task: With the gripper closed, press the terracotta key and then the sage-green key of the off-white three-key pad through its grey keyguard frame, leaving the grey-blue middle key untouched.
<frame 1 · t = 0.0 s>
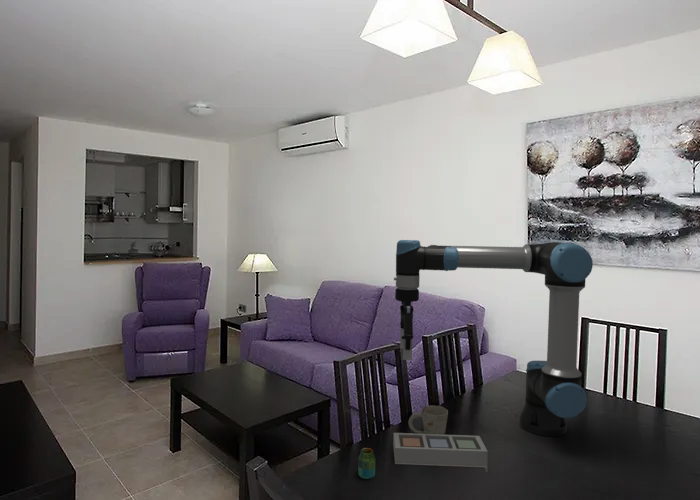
hand: (405, 353, 151), 28 cm above the table, fingers open, 13 cm apart
mug: (427, 440, 152), on the table
key a: (466, 448, 137), point 4 cm above the table, slide at 0.0 cm
jar: (366, 480, 127), on the table
key c: (411, 446, 138), point 4 cm above the table, slide at 0.0 cm
key b: (438, 447, 138), point 4 cm above the table, slide at 0.0 cm
three-slot tray: (438, 461, 138), on the table
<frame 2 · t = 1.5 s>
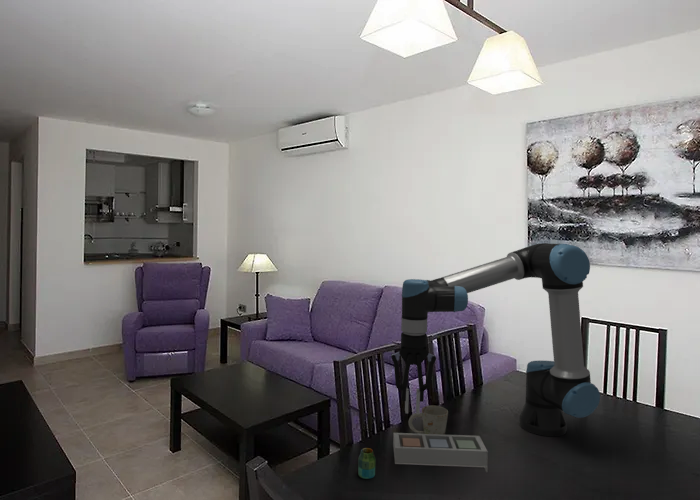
hand: (412, 411, 137), 15 cm above the table, fingers open, 3 cm apart
nothing on the table moved.
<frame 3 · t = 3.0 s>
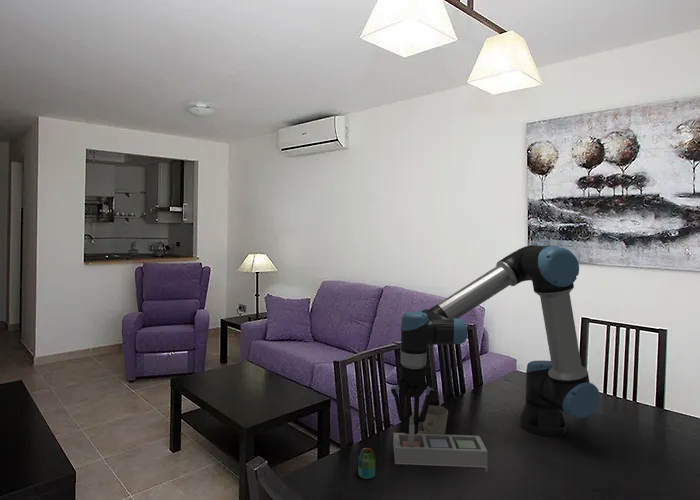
hand: (410, 444, 138), 5 cm above the table, fingers closed
key c: (411, 449, 138), point 3 cm above the table, slide at -0.9 cm, touching gripper
everything else where it was.
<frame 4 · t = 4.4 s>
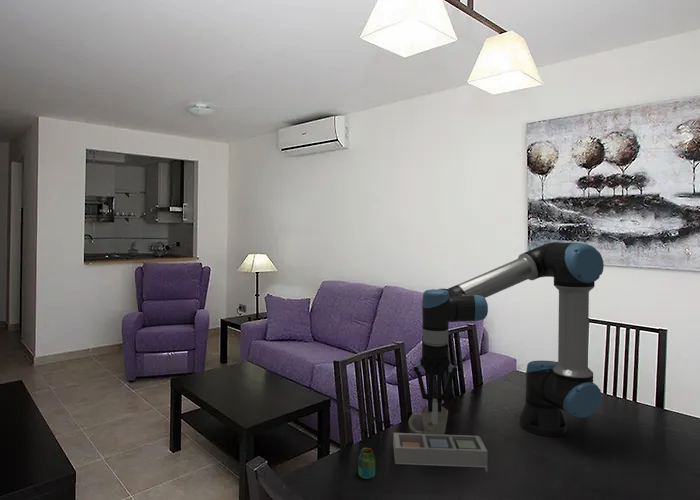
hand: (434, 422, 138), 12 cm above the table, fingers closed
key c: (411, 449, 138), point 3 cm above the table, slide at -1.2 cm
everything else where it was.
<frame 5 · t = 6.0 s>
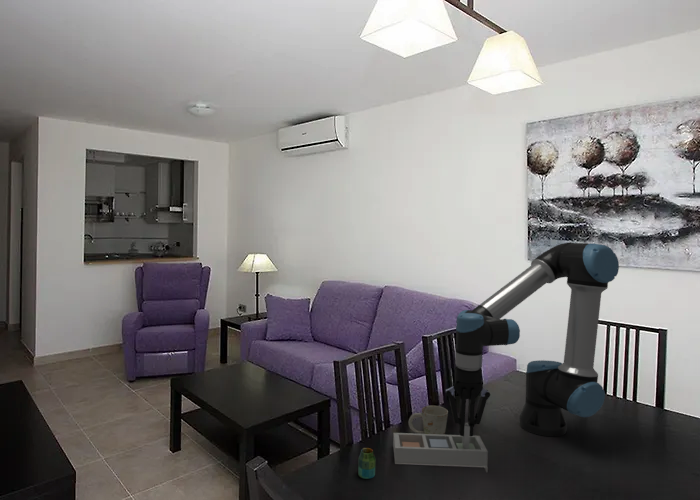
hand: (465, 446, 137), 5 cm above the table, fingers closed
key a: (465, 451, 137), point 3 cm above the table, slide at -0.9 cm, touching gripper
everything else where it was.
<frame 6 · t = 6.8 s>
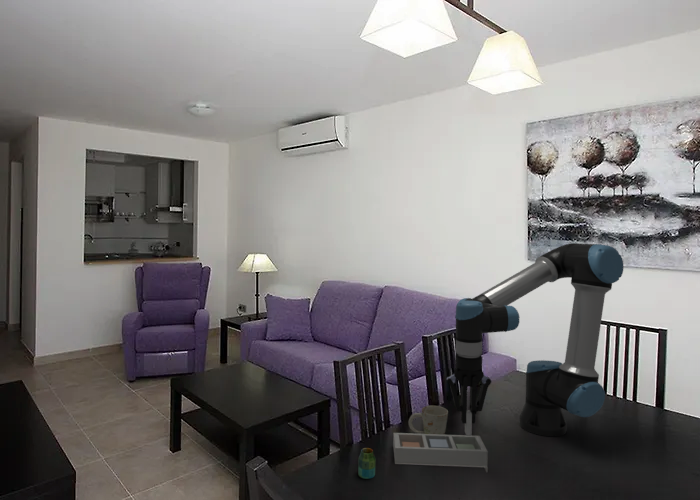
hand: (468, 433, 137), 8 cm above the table, fingers closed
key a: (465, 452, 137), point 3 cm above the table, slide at -1.2 cm
everything else where it was.
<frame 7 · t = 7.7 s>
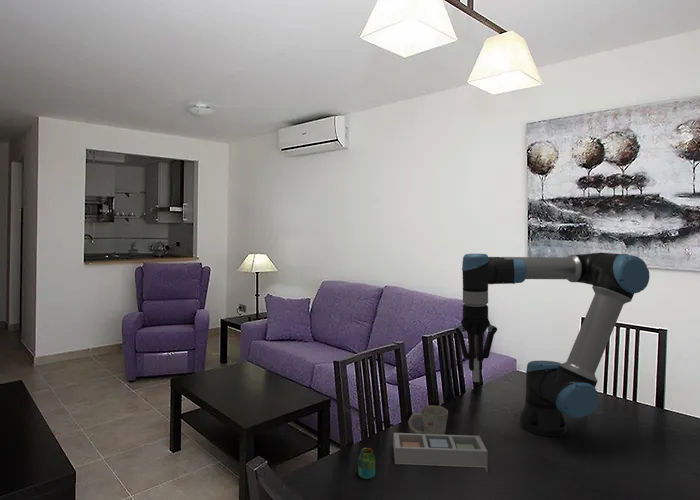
hand: (475, 380, 144), 22 cm above the table, fingers closed
nothing on the table moved.
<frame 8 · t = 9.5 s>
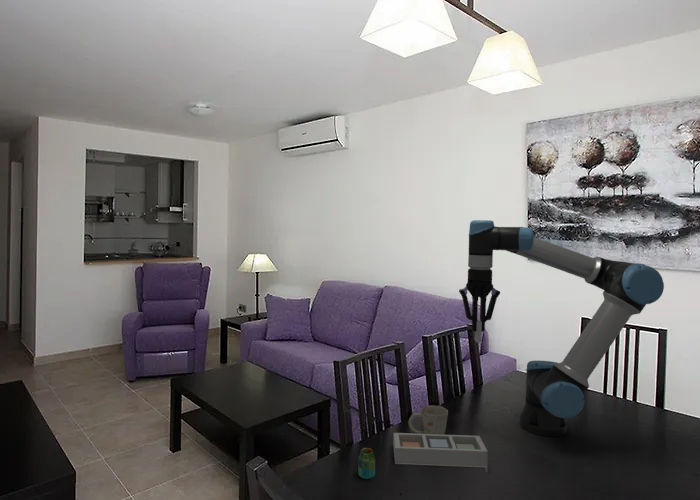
hand: (477, 341, 151), 32 cm above the table, fingers closed
nothing on the table moved.
at the end: key c slide at -1.2 cm; key a slide at -1.2 cm; key b slide at 0.0 cm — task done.
